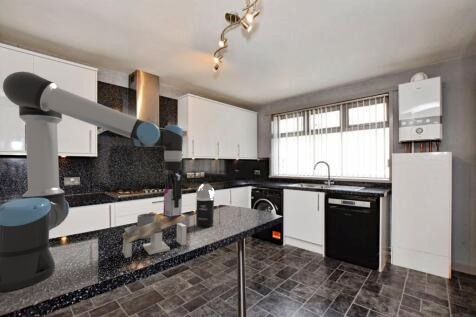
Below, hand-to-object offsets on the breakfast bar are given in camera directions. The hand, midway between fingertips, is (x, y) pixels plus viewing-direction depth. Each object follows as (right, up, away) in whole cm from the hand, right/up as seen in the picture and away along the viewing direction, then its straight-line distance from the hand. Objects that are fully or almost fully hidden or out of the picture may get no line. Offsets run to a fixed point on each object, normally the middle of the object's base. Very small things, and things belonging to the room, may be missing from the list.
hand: (172, 213), depth 96 cm
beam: (-5, -5, -4) cm, 9 cm away
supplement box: (0, -1, 0) cm, 1 cm away
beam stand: (-6, -13, -4) cm, 15 cm away
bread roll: (-15, -15, +29) cm, 36 cm away
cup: (-16, -14, +11) cm, 24 cm away
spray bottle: (+10, -15, +31) cm, 35 cm away
